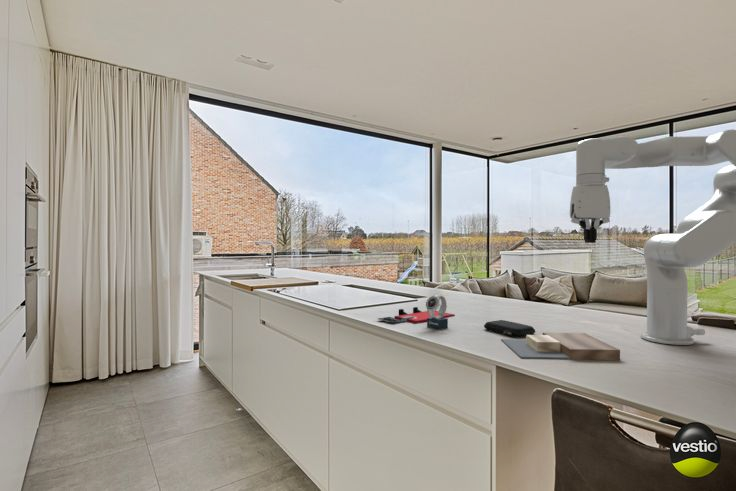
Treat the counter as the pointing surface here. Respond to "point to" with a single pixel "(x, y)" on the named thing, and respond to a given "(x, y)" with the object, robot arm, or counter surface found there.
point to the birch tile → (543, 343)
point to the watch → (434, 320)
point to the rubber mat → (531, 350)
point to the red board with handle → (413, 316)
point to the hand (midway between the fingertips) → (590, 242)
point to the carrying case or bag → (509, 328)
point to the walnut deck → (585, 346)
